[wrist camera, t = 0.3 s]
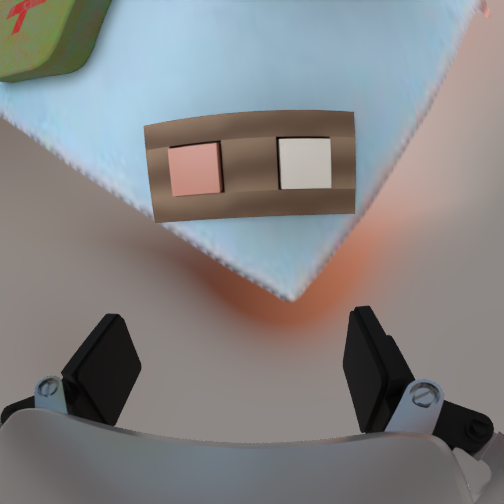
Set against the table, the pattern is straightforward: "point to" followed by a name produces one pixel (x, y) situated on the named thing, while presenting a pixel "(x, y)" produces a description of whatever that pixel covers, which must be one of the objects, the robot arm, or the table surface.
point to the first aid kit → (47, 36)
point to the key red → (196, 169)
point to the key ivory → (304, 163)
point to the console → (252, 164)
